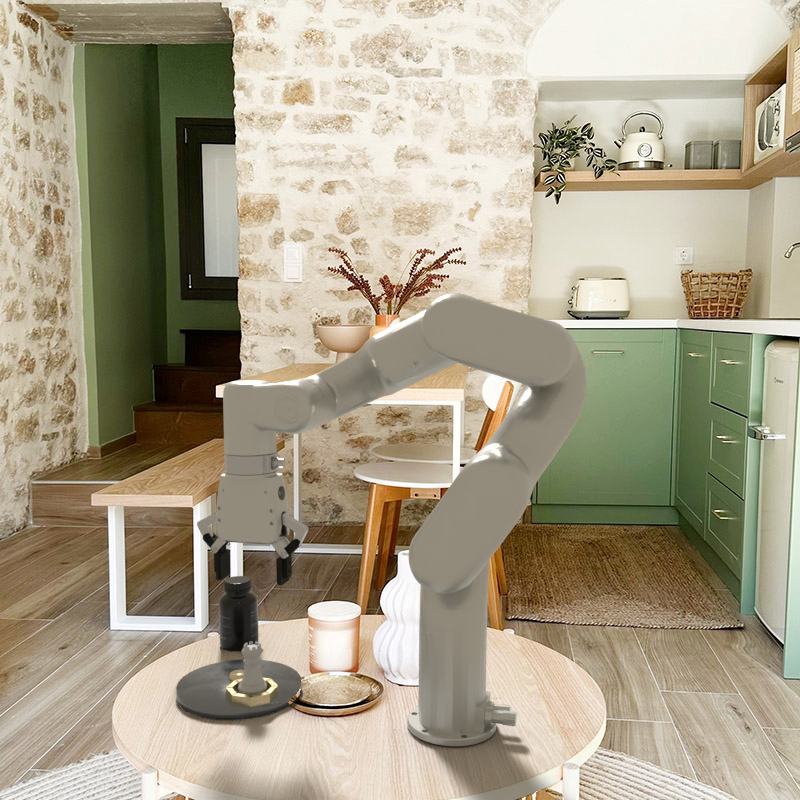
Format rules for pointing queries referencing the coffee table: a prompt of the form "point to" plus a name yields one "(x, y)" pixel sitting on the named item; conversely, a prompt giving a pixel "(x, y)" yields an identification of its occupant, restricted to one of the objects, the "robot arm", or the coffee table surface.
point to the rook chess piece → (252, 670)
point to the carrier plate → (236, 691)
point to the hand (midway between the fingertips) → (252, 580)
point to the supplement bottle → (238, 614)
